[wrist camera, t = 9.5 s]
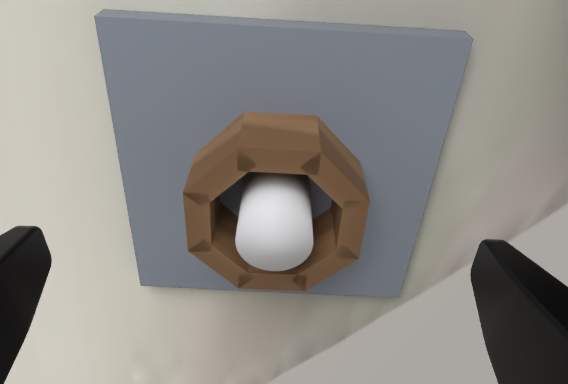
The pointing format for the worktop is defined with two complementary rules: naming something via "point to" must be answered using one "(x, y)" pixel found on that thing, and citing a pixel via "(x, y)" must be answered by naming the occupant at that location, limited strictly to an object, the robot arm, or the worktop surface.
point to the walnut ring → (276, 159)
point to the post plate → (286, 100)
